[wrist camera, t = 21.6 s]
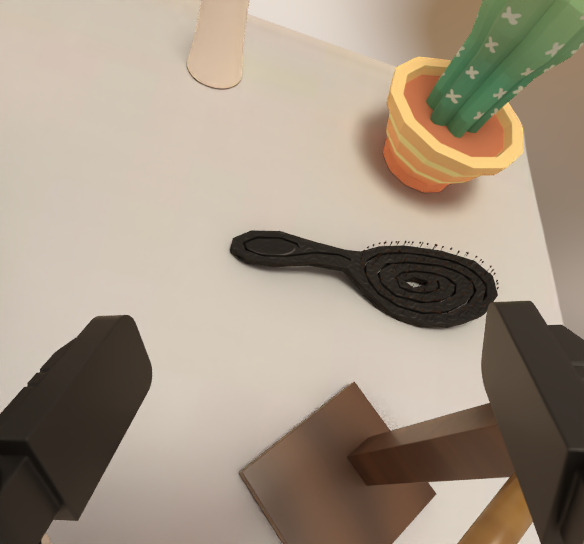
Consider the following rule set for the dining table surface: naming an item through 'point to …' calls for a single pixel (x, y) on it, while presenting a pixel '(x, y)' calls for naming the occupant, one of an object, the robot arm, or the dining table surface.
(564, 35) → the potted cactus
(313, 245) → the hairbrush
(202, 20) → the cosmetic bottle
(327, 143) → the dining table surface
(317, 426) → the hook stand
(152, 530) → the dining table surface
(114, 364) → the robot arm
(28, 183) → the dining table surface
